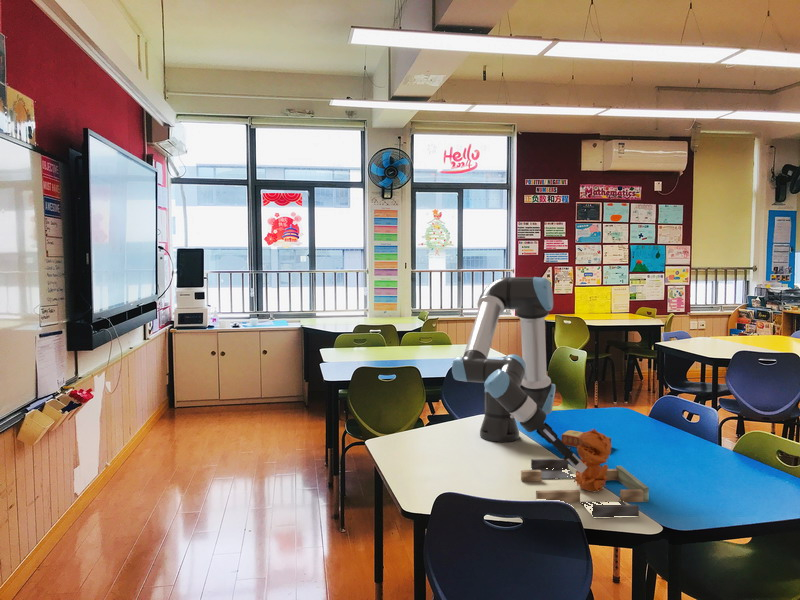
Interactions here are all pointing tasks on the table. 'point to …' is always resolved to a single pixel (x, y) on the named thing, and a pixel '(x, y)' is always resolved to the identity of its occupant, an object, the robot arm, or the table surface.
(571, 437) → the carton
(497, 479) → the table surface
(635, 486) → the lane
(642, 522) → the table surface
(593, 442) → the orange sculpted figure
